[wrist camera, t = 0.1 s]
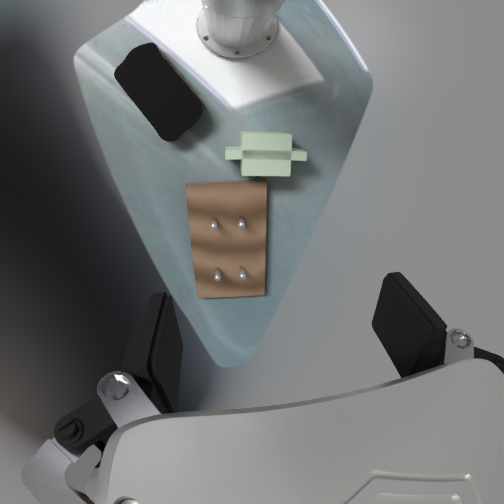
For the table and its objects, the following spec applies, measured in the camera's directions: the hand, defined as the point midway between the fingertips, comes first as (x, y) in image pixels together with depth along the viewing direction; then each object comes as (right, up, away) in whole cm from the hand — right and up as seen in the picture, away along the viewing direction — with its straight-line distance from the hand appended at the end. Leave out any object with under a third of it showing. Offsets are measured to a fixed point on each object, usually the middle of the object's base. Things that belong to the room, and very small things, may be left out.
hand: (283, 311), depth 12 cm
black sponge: (-16, +28, +26) cm, 41 cm away
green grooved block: (0, +19, +32) cm, 37 cm away
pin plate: (-6, +4, +39) cm, 39 cm away
